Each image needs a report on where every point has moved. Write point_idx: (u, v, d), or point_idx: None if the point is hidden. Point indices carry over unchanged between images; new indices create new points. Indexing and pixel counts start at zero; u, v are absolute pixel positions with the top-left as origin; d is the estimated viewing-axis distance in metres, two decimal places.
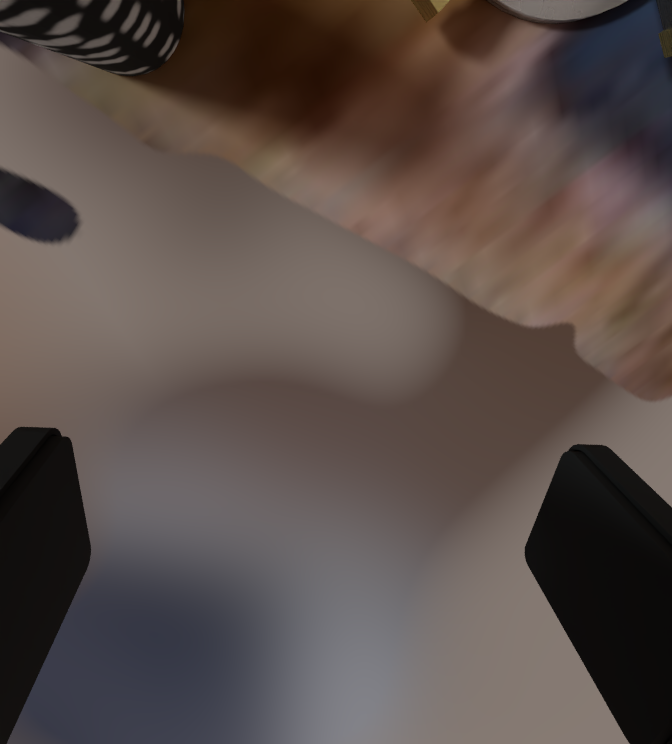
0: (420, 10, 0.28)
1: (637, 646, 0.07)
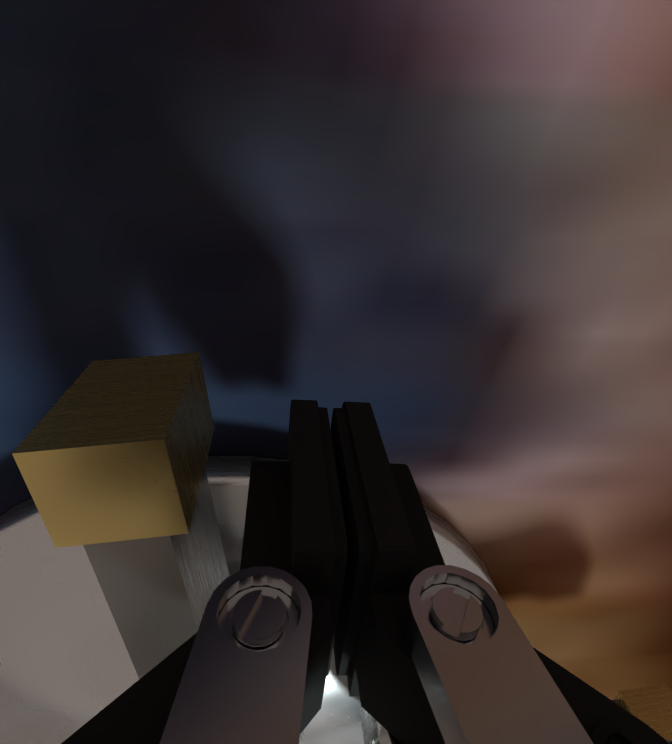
0: None
1: None
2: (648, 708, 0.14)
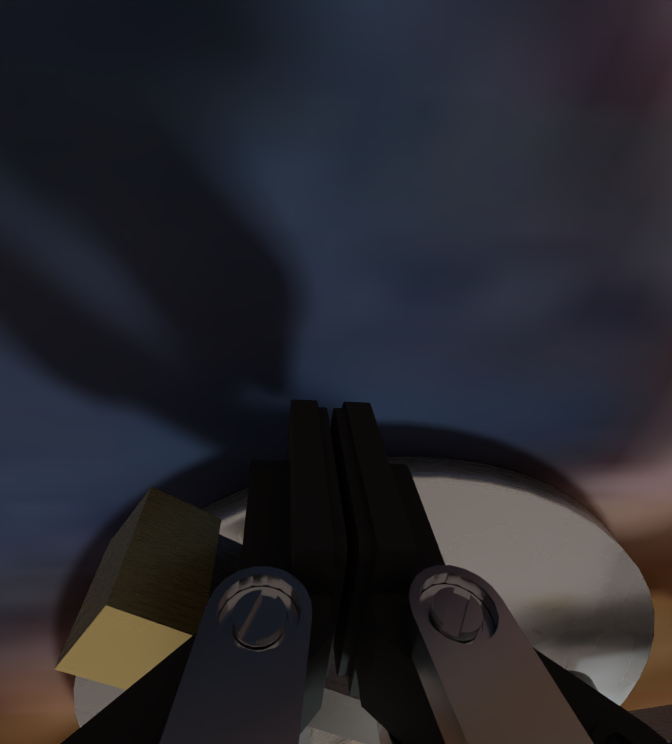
0: None
1: None
2: None
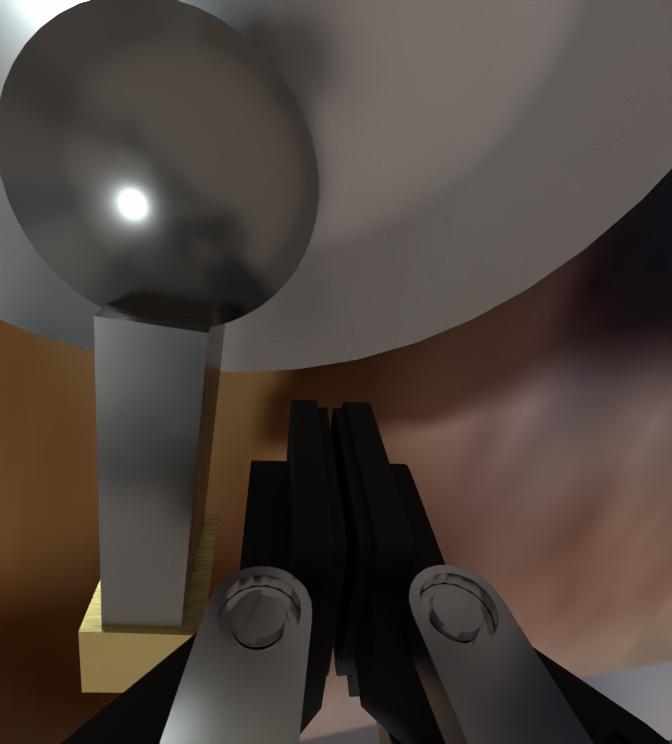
0: None
1: None
2: (212, 559, 0.09)
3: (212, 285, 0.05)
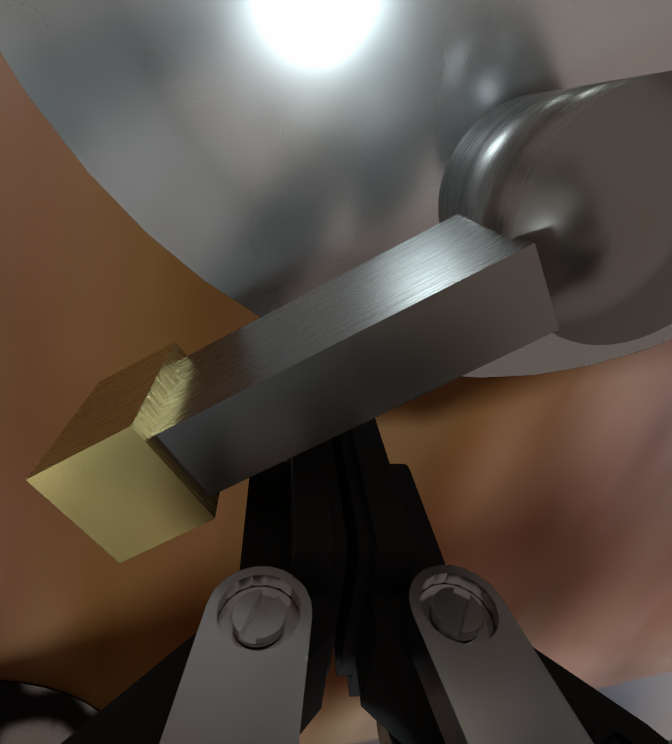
0: None
1: None
2: None
3: (573, 300, 0.06)
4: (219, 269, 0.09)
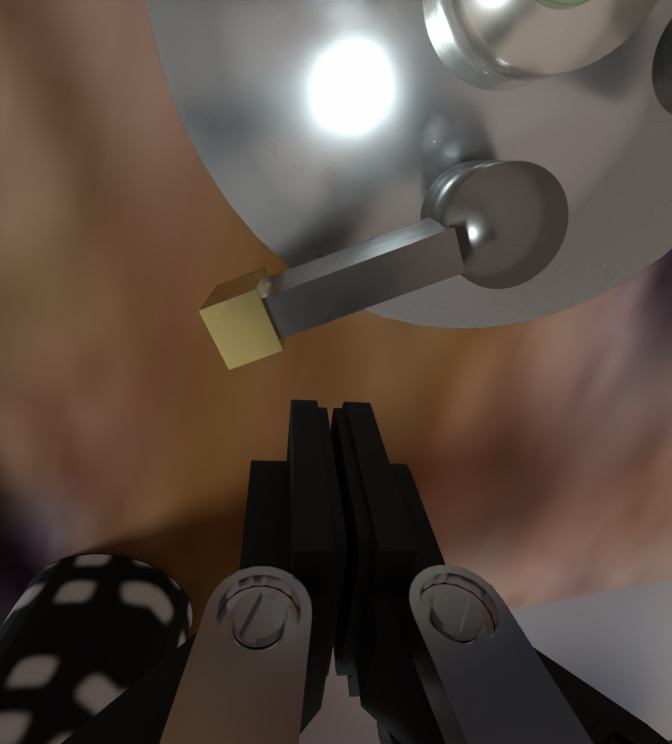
0: None
1: None
2: None
3: (475, 261, 0.12)
4: (294, 257, 0.15)
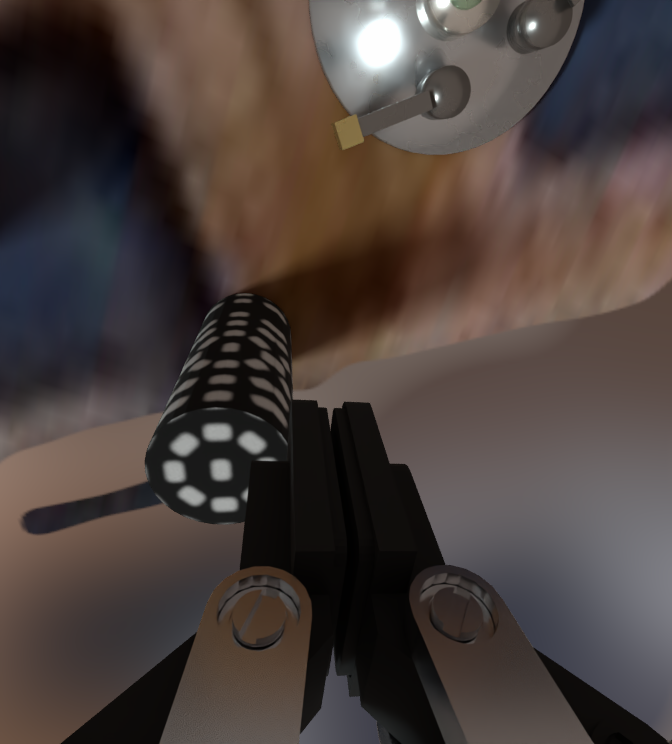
0: (336, 138, 0.34)
1: None
2: None
3: (436, 106, 0.32)
4: (360, 116, 0.35)
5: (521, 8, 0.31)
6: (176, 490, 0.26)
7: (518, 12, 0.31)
